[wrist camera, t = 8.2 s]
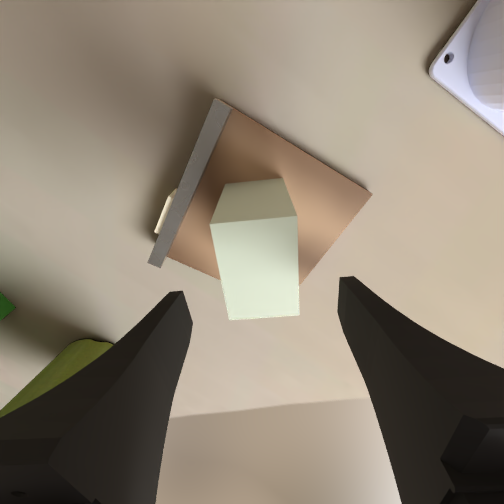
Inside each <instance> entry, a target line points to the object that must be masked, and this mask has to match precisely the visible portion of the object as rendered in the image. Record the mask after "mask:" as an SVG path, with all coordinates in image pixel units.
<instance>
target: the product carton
mask: <svg viewBox="0 0 504 504" xmlns="http://www.w3.org/2000/svg"><path fill="white" fill-rule="evenodd" d="M210 229H211V234H212V239H213V244H214V248H215V253H216V258H217V263H218V268H219V273H220V278H221V283H222V288H223V292H224V297H225V302H226V307H227V312H228V317H229V320H240V319H254V318H269V317H283V316H297V315H299V273H298V222H297V214H296V211H295V208H294V206H293V203H292V200H291V198H290V195H289V193H288V190H287V187H286V185H285V182H284V179H283V178H277V179H268V180H258V181H248V182H239V183H229V184H225V186H224V189H223V191H222V194H221V196H220V199H219V201H218V204H217V206H216V209H215V212H214V214H213V217H212V219H211V222H210Z"/></svg>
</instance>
